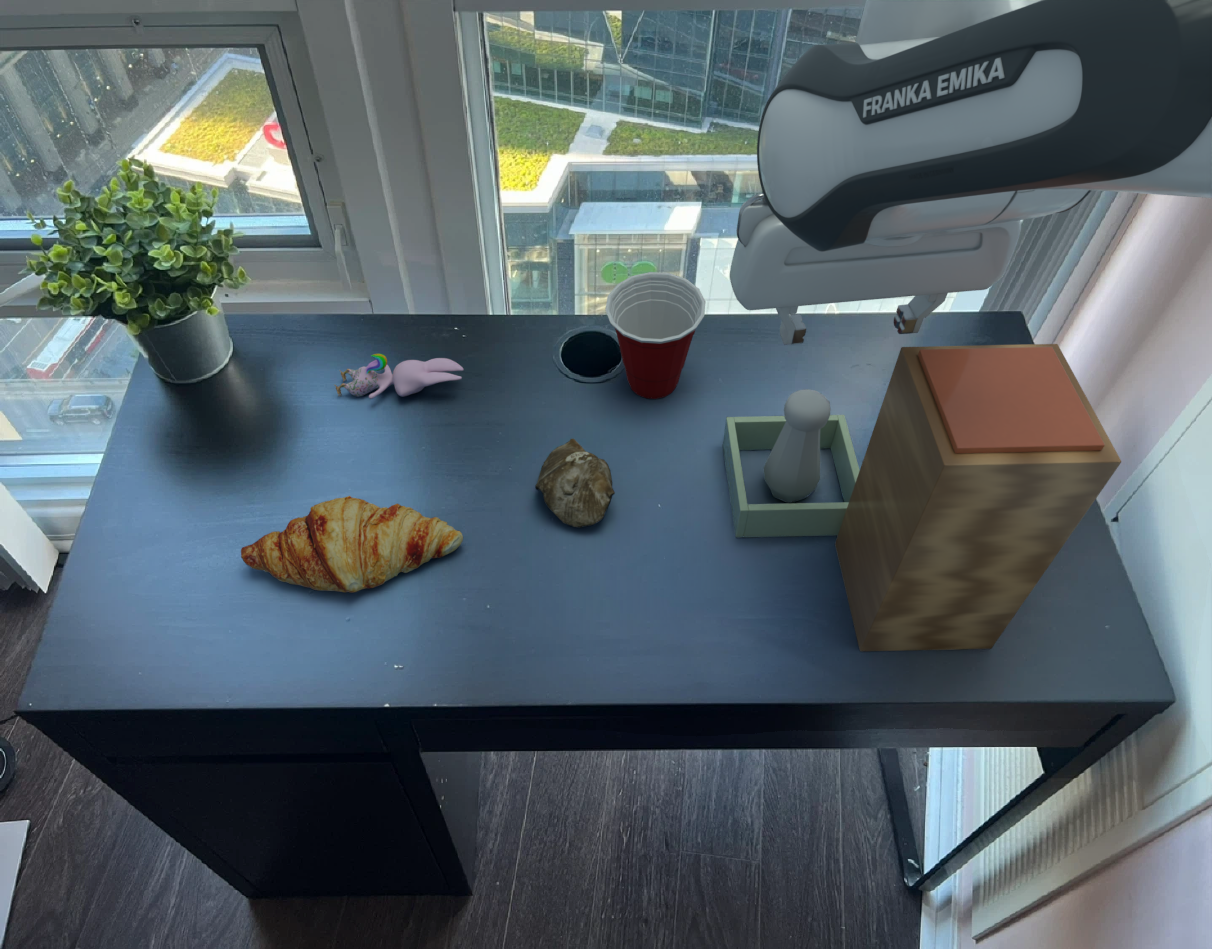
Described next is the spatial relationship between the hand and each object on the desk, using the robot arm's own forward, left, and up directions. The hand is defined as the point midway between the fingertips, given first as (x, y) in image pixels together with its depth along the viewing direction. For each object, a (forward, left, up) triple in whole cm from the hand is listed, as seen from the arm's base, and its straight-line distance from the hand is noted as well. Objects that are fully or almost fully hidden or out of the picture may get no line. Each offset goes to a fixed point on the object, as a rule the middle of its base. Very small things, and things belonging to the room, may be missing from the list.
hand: (848, 334), depth 67 cm
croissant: (+36, +26, -25) cm, 51 cm away
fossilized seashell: (+21, +9, -25) cm, 34 cm away
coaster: (-13, +3, +1) cm, 13 cm away
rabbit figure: (+48, +5, -25) cm, 54 cm away
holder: (+2, -3, -25) cm, 25 cm away
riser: (-13, +3, -25) cm, 28 cm away
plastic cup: (+22, -10, -25) cm, 35 cm away
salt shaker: (+2, -3, -25) cm, 25 cm away
